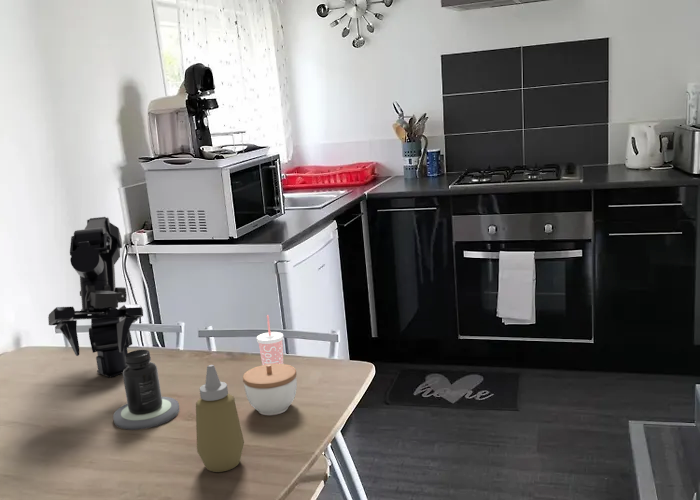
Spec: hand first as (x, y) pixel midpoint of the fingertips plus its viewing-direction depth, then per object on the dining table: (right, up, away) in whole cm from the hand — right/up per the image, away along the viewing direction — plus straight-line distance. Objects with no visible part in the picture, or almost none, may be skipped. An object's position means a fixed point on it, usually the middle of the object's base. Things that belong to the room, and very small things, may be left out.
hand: (100, 353), depth 147 cm
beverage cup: (+36, -6, +12) cm, 38 cm away
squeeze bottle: (+32, -15, -29) cm, 45 cm away
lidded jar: (+38, -10, -8) cm, 40 cm away
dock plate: (+12, -12, -6) cm, 18 cm away
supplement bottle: (+12, -10, -6) cm, 17 cm away
